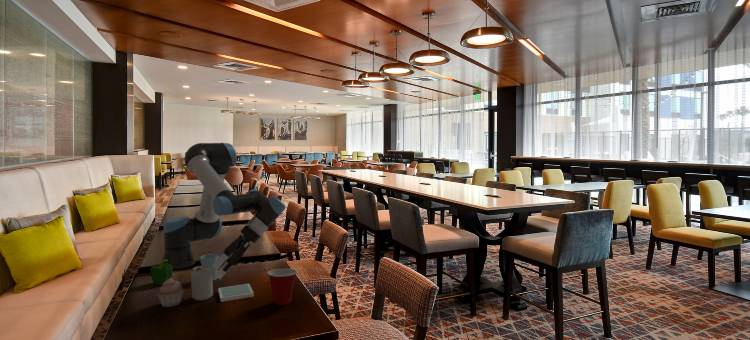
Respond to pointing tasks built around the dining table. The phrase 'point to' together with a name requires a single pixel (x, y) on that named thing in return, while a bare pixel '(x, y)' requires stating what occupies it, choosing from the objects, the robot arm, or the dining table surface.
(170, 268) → the bell pepper
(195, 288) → the can
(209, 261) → the cup
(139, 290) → the dining table surface
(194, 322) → the dining table surface
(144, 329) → the dining table surface
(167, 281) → the cupcake
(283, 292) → the plastic cup
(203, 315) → the dining table surface
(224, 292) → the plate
